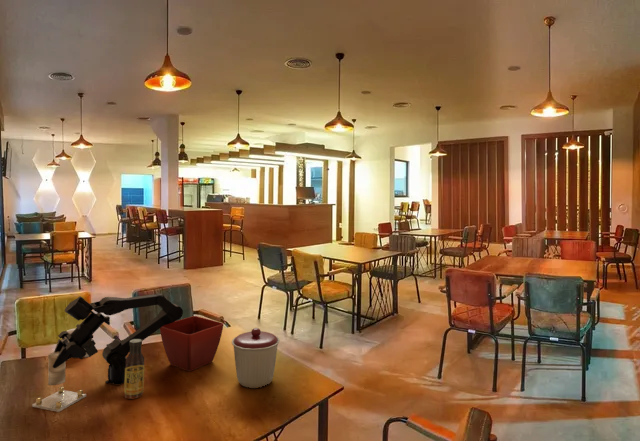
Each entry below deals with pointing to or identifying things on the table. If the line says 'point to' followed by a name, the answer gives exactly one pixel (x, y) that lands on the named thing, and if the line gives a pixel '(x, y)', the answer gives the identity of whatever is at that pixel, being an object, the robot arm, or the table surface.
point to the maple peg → (55, 370)
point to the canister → (255, 357)
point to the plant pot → (191, 341)
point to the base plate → (59, 400)
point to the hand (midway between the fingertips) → (52, 365)
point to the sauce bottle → (134, 371)
